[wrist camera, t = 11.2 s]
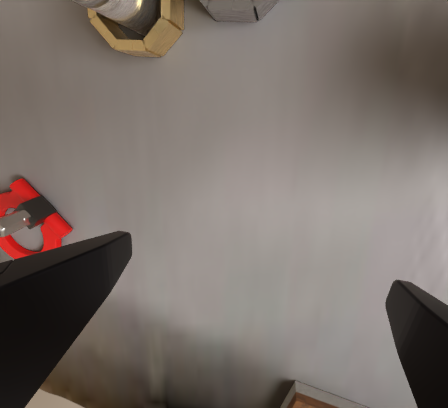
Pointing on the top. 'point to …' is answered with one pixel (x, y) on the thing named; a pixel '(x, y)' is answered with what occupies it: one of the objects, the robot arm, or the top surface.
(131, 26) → the round-tipped metal peg
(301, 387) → the spiral ramp tower
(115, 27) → the small brass socket
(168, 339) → the top surface
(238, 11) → the wide steel socket
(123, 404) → the top surface
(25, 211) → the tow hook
